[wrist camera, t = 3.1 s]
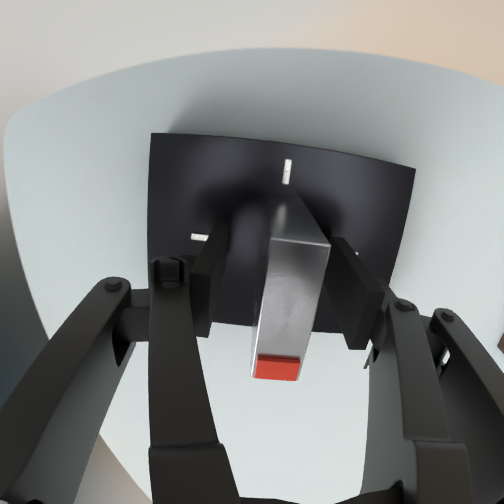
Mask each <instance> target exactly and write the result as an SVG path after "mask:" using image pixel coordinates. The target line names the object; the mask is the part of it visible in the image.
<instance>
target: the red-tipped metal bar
mask: <svg viewBox="0 0 504 504" xmlns="http://www.w3.org/2000/svg"><path fill="white" fill-rule="evenodd" d="M330 249H331V245H330V243H329V241H328V240H327V238H326V237H325V235H324V233H323V232H322V230H321V229H320V227H319V226H318V224H317V223H316V221H315V219H314V218H313V216H312V215H311V213H310V212H309V210H308V209H307V207H306V206H305V204H304V203H303V201H302V200H301V198H295V197H288V196H280V195H272V194H266V199H265V207H264V215H263V223H262V231H261V239H260V247H259V255H258V263H257V271H256V279H255V287H254V307H253V329H252V351H251V373H250V376H251V377H254V378H259V379H272V380H287V381H296V380H298V378H299V375H300V371H301V368H302V364H303V361H304V357H305V353H306V350H307V346H308V342H309V338H310V335H311V331H312V327H313V323H314V319H315V315H316V311H317V307H318V303H319V298H320V294H321V290H322V285H323V281H324V277H325V272H326V267H327V263H328V258H329V253H330Z"/></svg>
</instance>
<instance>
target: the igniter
mask: <svg viewBox="0 0 504 504" xmlns="http://www.w3.org/2000/svg"><path fill="white" fill-rule="evenodd" d="M497 347H498V348H499V349H500V350H501V351H502V353H503V354H504V334H503V336H502V338H501V340H500V342H499V344H498V346H497Z"/></svg>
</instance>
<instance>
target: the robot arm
mask: <svg viewBox="0 0 504 504" xmlns="http://www.w3.org/2000/svg"><path fill="white" fill-rule="evenodd" d="M228 233H229V224H226V223H215V224H214V226H213V228H212V230H211V232H210V234H209V236H208V238H207V240H206V242H205V244H204V246H203V248H202V250H201V251H200V253H199V255H198V256H191V255H182V256H180V257H178V256H170V255H168V256H160V257H156V258H155V259H153V260H152V261H151V288H147V289H131V284H130V282H129V281H128V280H126V279H124V278H120V277H107V278H105V279H103V280H101V281H99V282H98V283H97V284H96V285H95V286H94V287H93V288H92V290H91V291H90V292H89V293H88V294H87V295H86V297H85V298H84V299H83V300H82V301H81V302H80V304H79V305H78V306H77V307H76V308H75V310H74V311H73V312H72V313H71V314H70V316H69V317H68V318H67V319H66V320H65V322H64V323H63V324H62V325H61V327H60V328H59V329H58V330H57V332H56V333H55V334H54V335H53V337H52V338H51V339H50V341H49V342H48V343H47V344H46V346H45V347H44V349H43V350H42V351H41V352H40V354H39V355H38V356H37V358H36V359H35V360H34V362H33V363H32V364H31V366H30V367H29V369H28V370H27V371H26V373H25V374H24V376H23V377H22V378H21V380H20V381H19V383H18V384H17V386H16V387H15V388H14V390H13V391H12V393H11V394H10V396H9V397H8V399H7V400H6V402H5V403H4V405H3V407H2V408H1V410H0V504H73V503H74V500H75V497H76V495H77V492H78V488H79V486H80V482H81V480H82V477H83V474H84V471H85V468H86V465H87V463H88V460H89V457H90V454H91V452H92V449H93V446H94V443H95V441H96V438H97V436H98V433H99V431H100V428H101V426H102V423H103V421H104V418H105V416H106V413H107V411H108V408H109V406H110V403H111V401H112V398H113V396H114V394H115V391H116V389H117V386H118V384H119V382H120V379H121V377H122V375H123V373H124V370H125V368H126V366H127V363H128V361H129V359H130V357H131V354H132V352H133V350H134V348H135V346H136V342H144V341H149V348H148V393H149V423H150V443H151V445H150V447H149V451H148V455H149V471H150V481H151V491H152V500H153V504H299V503H293V502H288V501H283V500H279V499H265V498H245V497H239V494H238V490H237V487H236V484H235V480H234V477H233V474H232V470H231V467H230V463H229V459H228V456H227V453H226V450H225V447H224V445H223V444H221V443H220V442H219V440H218V437H217V433H216V429H215V425H214V420H213V416H212V412H211V407H210V403H209V398H208V394H207V389H206V385H205V380H204V375H203V370H202V365H201V360H200V355H199V350H198V345H197V339H196V336H197V337H205V338H208V336H209V332H210V328H211V324H212V320H213V316H214V312H215V308H216V304H217V300H218V296H219V292H220V288H221V284H222V280H223V277H224V273H225V268H226V256H227V244H228ZM330 245H331V249H330V253H329V258H328V263H327V267H326V272H325V277H324V281H323V284H324V286H325V288H326V291H327V294H328V296H329V299H330V301H331V304H332V306H333V309H334V311H335V314H336V317H337V319H338V322H339V324H340V327H341V330H342V332H343V335H344V338H345V340H346V343H347V346H348V349H349V350H366V347H367V344H368V342H369V339H371V342H372V344H373V346H372V349H371V351H370V354H369V356H368V359H367V361H366V363H365V366H364V369H366V368H367V366H368V365H369V409H368V427H367V442H366V453H365V464H364V473H363V481H362V488H361V491H360V494H359V495H358V496H356V497H353V498H350V499H347V500H345V501H342V502H339V503H336V504H504V373H503V372H502V371H501V369H500V368H499V367H498V365H497V364H496V362H495V361H494V360H493V358H492V357H491V356H490V355H489V353H488V352H487V351H486V349H485V348H484V347H483V345H482V344H481V343H480V342H479V340H478V339H477V338H476V337H475V335H474V334H473V333H472V332H471V330H470V329H469V328H468V327H467V325H466V324H465V323H464V322H463V321H462V319H461V318H460V317H459V316H458V315H457V314H456V313H454V312H453V311H452V310H450V309H446V308H445V309H444V308H437V309H435V311H434V313H433V316H432V318H431V317H427V316H423V315H420V314H419V311H418V309H417V307H416V306H415V305H414V304H413V303H411V302H409V301H407V300H405V299H401V298H397V297H396V295H395V294H394V293H393V291H392V290H391V289H390V287H389V286H388V285H387V283H386V282H385V281H384V280H383V279H382V278H380V277H379V276H377V275H372V274H371V272H370V271H369V270H368V268H367V267H366V266H365V264H364V263H363V262H362V260H361V259H360V258H359V257H358V255H357V254H356V253H355V251H354V250H353V249H352V248H351V246H350V245H349V244H348V242H347V241H346V240H345V239H344V238H343V237H335V236H331V239H330ZM447 351H449V353H450V357H449V359H448V361H447V363H446V364H444V363H443V361H442V360H443V358H444V356H445V355H446V353H447Z"/></svg>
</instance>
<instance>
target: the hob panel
mask: <svg viewBox="0 0 504 504" xmlns="http://www.w3.org/2000/svg"><path fill="white" fill-rule="evenodd" d="M415 173H416V169H415V168H411V167H407V166H403V165H399V164H395V163H391V162H386V161H382V160H378V159H373V158H369V157H364V156H359V155H354V154H349V153H344V152H338V151H333V150H327V149H321V148H315V147H309V146H302V145H296V144H289V143H281V142H274V141H265V140H256V139H247V138H237V137H225V136H212V135H197V134H176V133H151V143H150V157H149V176H148V208H147V254H148V286H149V288H151V261H152V260H153V259H155V258H156V257H160V256H168V255H170V256H178V257H180V256H182V255H191V256H198V255H199V253H200V251H201V250H202V248H203V246H204V244H205V242H206V240H207V238H208V236H209V234H210V232H211V230H212V228H213V226H214V224H215V223H226V224H229V233H228V244H227V256H226V268H225V273H224V277H223V280H222V284H221V288H220V292H219V296H218V300H217V304H216V308H215V312H214V316H213V320H212V322H217V323H225V324H234V325H243V326H252V327H253V307H254V287H255V279H256V271H257V263H258V255H259V247H260V239H261V231H262V223H263V215H264V207H265V199H266V194H272V195H280V196H288V197H295V198H301V200H302V201H303V203H304V204H305V206H306V207H307V209H308V210H309V212H310V213H311V215H312V216H313V218H314V219H315V221H316V223H317V224H318V226H319V227H320V229H321V230H322V232H323V233H324V235H325V237H326V238H327V240H328V241H329V243H330V239H331V236H335V237H343V238H344V239H345V240H346V241H347V242H348V244H349V245H350V246H351V248H352V249H353V250H354V251H355V253H356V254H357V255H358V257H359V258H360V259H361V260H362V262H363V263H364V264H365V266H366V267H367V268H368V270H369V271H370V272H371V274H372V275H377V276H379V277H380V278H382V279H383V280H384V281H385V282H386V283H387V285H388V286H389V282H390V279H391V276H392V272H393V269H394V265H395V262H396V258H397V254H398V251H399V247H400V243H401V239H402V235H403V231H404V227H405V222H406V218H407V213H408V209H409V204H410V199H411V194H412V189H413V184H414V178H415ZM311 332H325V333H343V332H342V330H341V327H340V324H339V322H338V319H337V317H336V314H335V311H334V309H333V306H332V304H331V301H330V299H329V296H328V294H327V291H326V288H325V286H324V284H323V285H322V290H321V294H320V298H319V303H318V307H317V311H316V315H315V319H314V323H313V327H312V331H311Z"/></svg>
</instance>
